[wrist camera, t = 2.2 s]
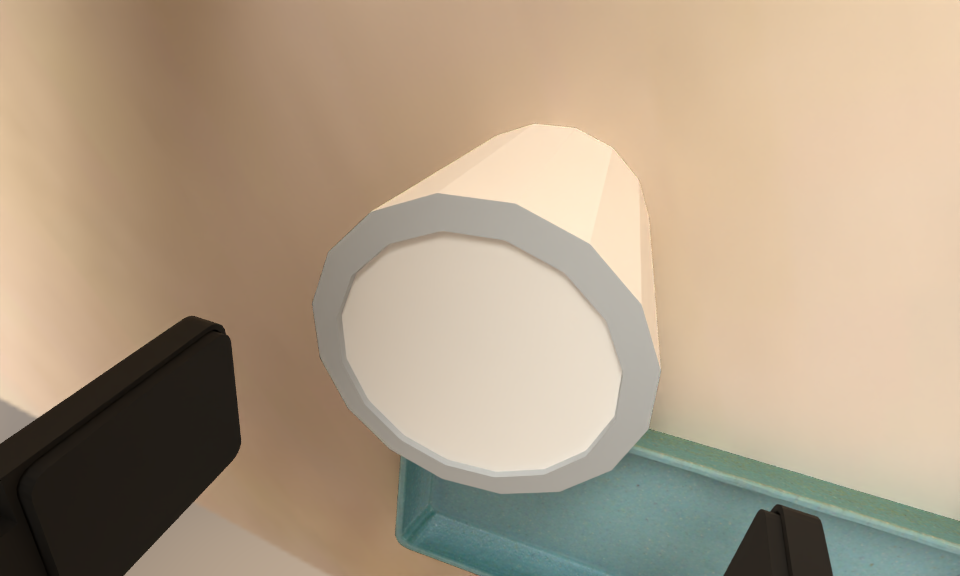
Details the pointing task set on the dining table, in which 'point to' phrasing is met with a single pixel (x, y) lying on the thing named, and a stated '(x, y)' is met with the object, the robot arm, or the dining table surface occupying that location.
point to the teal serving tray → (662, 519)
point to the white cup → (501, 315)
